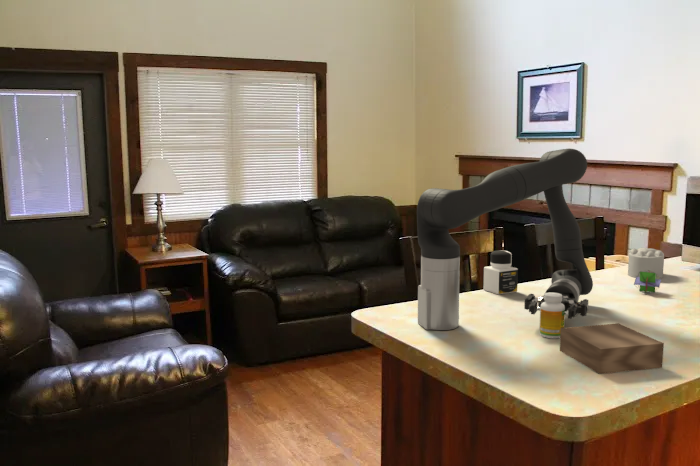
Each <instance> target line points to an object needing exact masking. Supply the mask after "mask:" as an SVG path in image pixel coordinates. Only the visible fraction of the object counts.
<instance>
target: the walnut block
mask: <svg viewBox="0 0 700 466" xmlns="http://www.w3.org/2000/svg"><path fill="white" fill-rule="evenodd" d="M664 345H665V343H664V342H661V341H659V340H657V339H655V338H653V337H650V336H649V335H646V334H644V333H641V332H639V331H637V330H635V329H632V328H630V327H628V326H626V325H624V324H621V323H619V322H618V323H617V322H616V323H607V324H606V323H605V324H594V325H581V326H573V327H572V326H571V327H564V328H561V332H560V338H559V351H560V352H561V353H563V354H564V355H566V356H568V357H569V358H571V359H573V360H574V361H577V362H578V363H580V364H581V365H583V366H585V367H587V368H588V369H590V370H591V371H593V372H595V373H597V374H599V375H603V374H604V375H605V374H606V375H607V374H612V373H624V372H633V371H641V370H642V371H643V370H652V369H660V368H661V369H663V359H664V347H665V346H664Z"/></svg>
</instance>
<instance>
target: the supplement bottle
mask: <svg viewBox="0 0 700 466" xmlns="http://www.w3.org/2000/svg"><path fill="white" fill-rule="evenodd" d="M543 296H544V300H545V302H543V303H542V304H541V307H540V311H539V335H540V336H541V337H544V338H547V339H556V340H557V339H560V332H561V328H565V318H566V317H565V316H566V314H565V306H564V304H562V303H561V301H562V294H559V293H553V292H549V293H545V292H544V294H543Z"/></svg>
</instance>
